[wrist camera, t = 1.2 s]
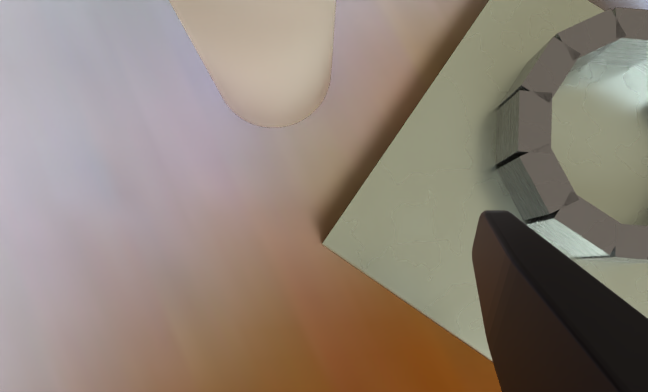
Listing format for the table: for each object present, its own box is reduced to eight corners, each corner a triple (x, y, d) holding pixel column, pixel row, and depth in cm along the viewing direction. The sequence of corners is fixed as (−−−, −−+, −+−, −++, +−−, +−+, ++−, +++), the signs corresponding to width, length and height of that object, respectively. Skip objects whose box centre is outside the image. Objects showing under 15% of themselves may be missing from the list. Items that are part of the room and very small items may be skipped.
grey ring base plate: (610, 443, 21) (667, 477, 18) (322, 244, 22) (323, 239, 19) (784, 142, 23) (867, 119, 20) (510, -30, 24) (542, -81, 21)
